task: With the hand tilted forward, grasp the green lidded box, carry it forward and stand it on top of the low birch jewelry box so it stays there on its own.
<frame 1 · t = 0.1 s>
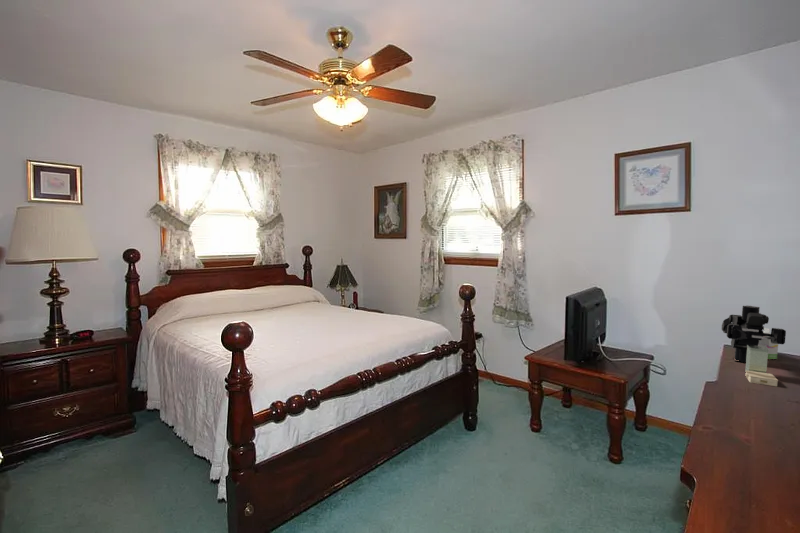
hand: (760, 338, 165), 17 cm above the dresser, tool horizontal, fingers open, 9 cm apart
ink box: (764, 357, 195), on the dresser
jewelry box: (760, 382, 162), on the dresser
green lidded box: (755, 375, 169), on the dresser
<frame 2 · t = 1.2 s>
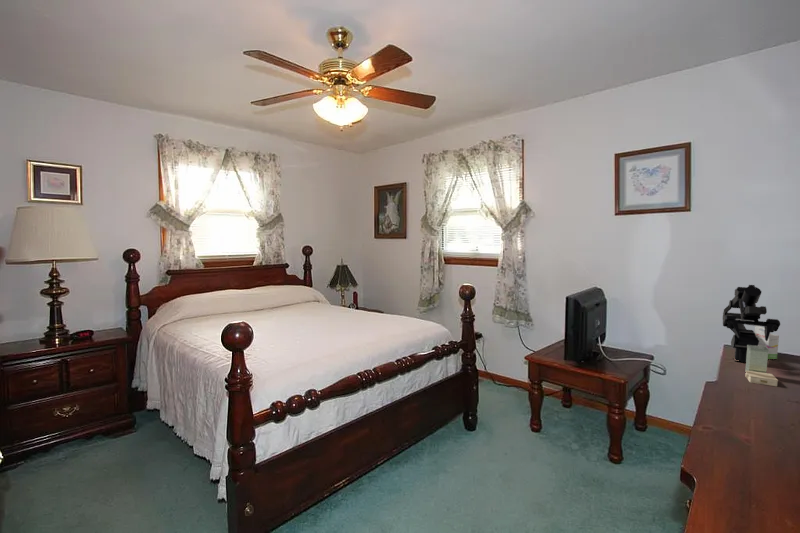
hand: (752, 339, 175), 14 cm above the dresser, tool tilted 45°, fingers open, 9 cm apart
nothing on the dresser moved.
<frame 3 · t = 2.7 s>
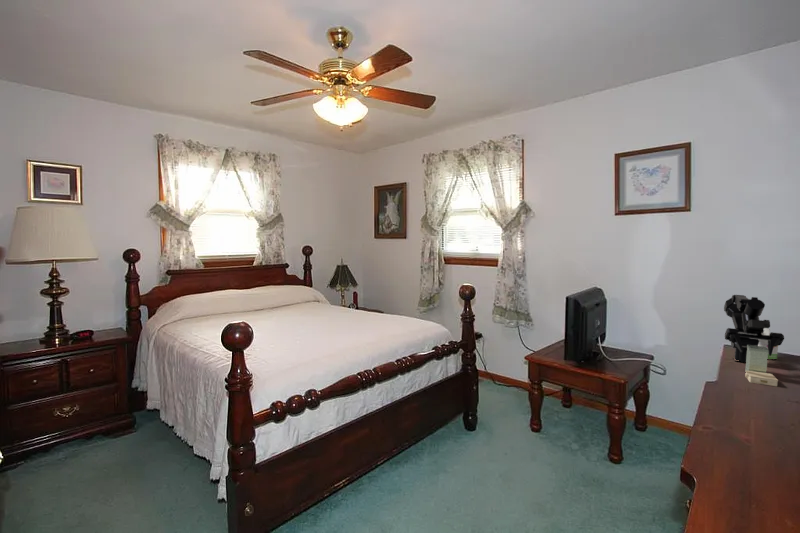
hand: (755, 353, 170), 9 cm above the dresser, tool tilted 45°, fingers open, 9 cm apart
nothing on the dresser moved.
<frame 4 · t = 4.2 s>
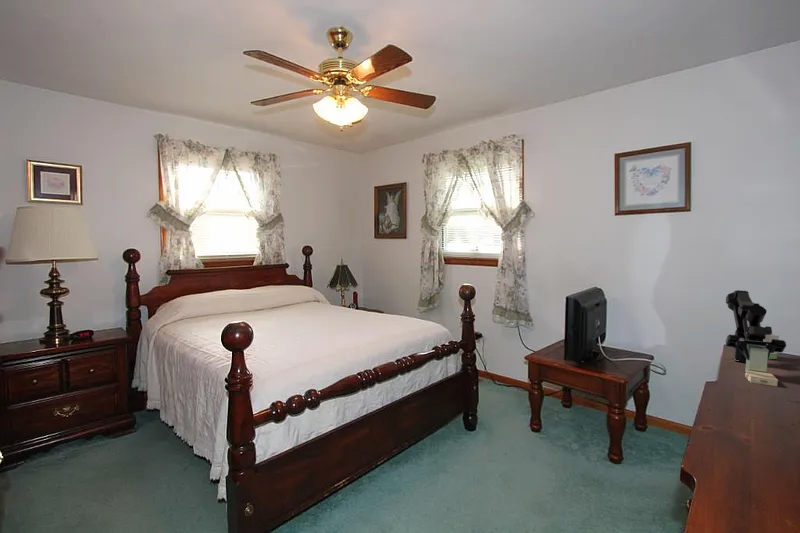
hand: (757, 360, 167), 7 cm above the dresser, tool tilted 45°, fingers closed on green lidded box, 5 cm apart
green lidded box: (755, 375, 169), on the dresser, touching gripper
everything else where it was.
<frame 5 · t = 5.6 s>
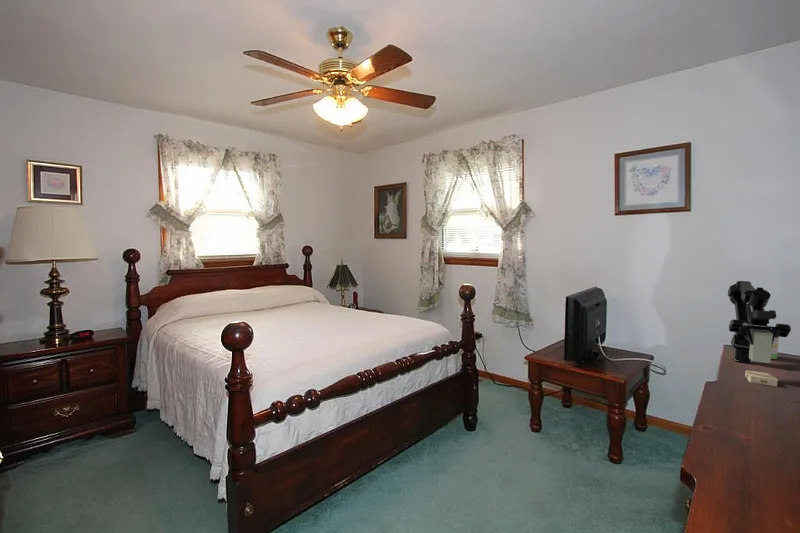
hand: (761, 345, 163), 14 cm above the dresser, tool tilted 45°, fingers closed on green lidded box, 5 cm apart
green lidded box: (759, 360, 165), point 7 cm above the dresser, touching gripper
everything else where it was.
when the fingers open (10 cm above the dresser, at t = 7.0 s): green lidded box drops 1 cm, point 3 cm above the dresser.
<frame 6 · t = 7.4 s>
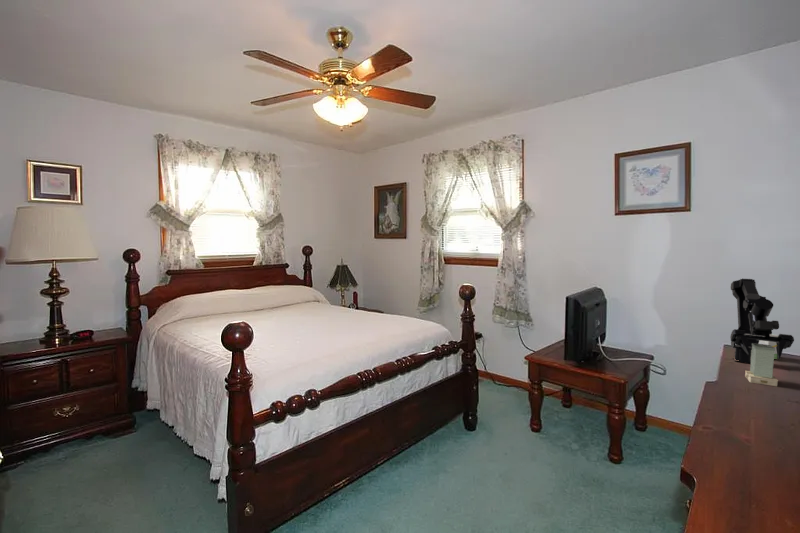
hand: (763, 356, 160), 11 cm above the dresser, tool tilted 45°, fingers open, 9 cm apart
green lidded box: (760, 375, 162), point 3 cm above the dresser
everything else where it was.
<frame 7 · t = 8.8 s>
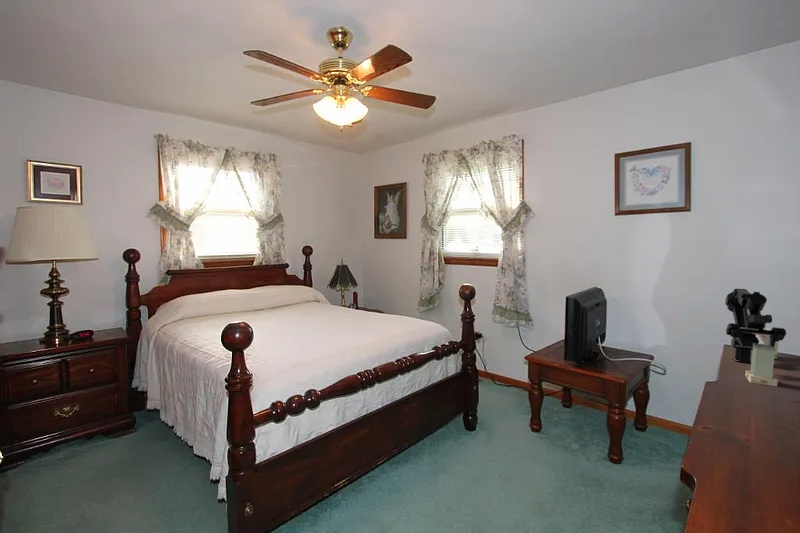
hand: (757, 348, 168), 11 cm above the dresser, tool tilted 45°, fingers open, 9 cm apart
jewelry box: (760, 382, 162), on the dresser, touching green lidded box
green lidded box: (760, 375, 162), point 3 cm above the dresser, touching jewelry box
everything else where it was.
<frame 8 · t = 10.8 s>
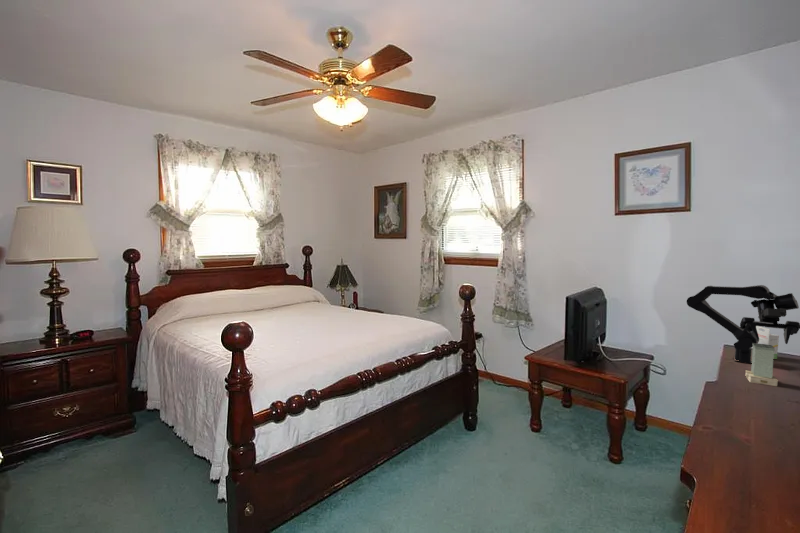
hand: (772, 341, 171), 14 cm above the dresser, tool tilted 45°, fingers open, 9 cm apart
jewelry box: (760, 382, 162), on the dresser
green lidded box: (761, 374, 162), point 3 cm above the dresser
everything else where it was.
at the end: green lidded box 0.2 cm off-centre on the jewelry box, point 3.1 cm above the jewelry box's base; green lidded box tilted 1°; the gripper is holding nothing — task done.
